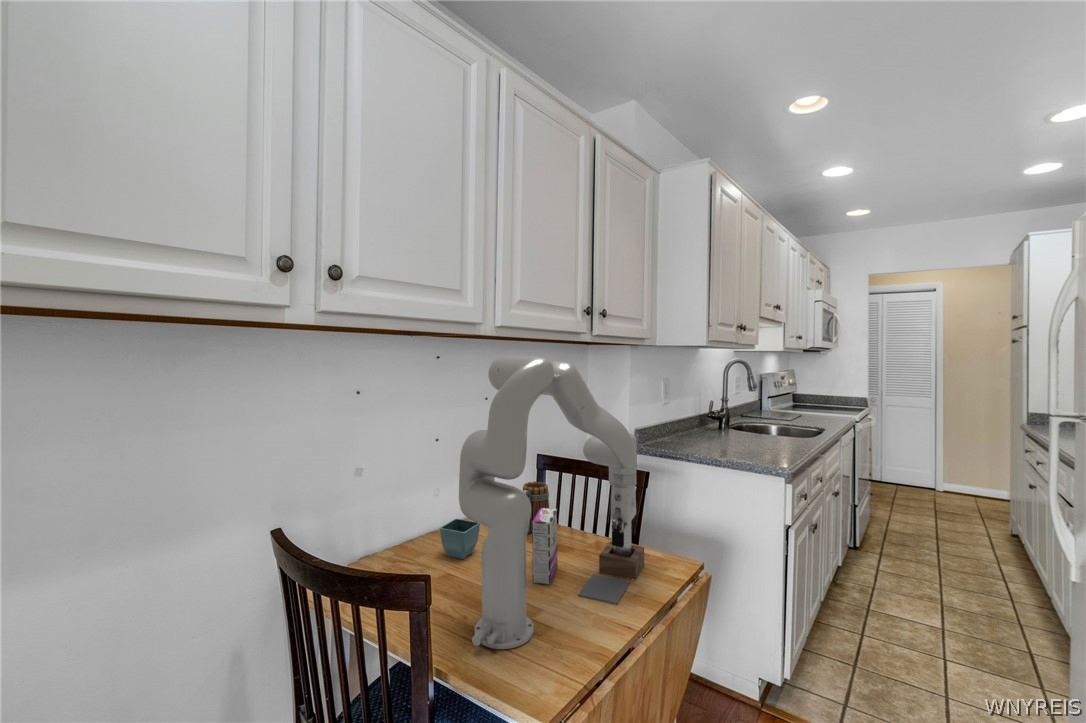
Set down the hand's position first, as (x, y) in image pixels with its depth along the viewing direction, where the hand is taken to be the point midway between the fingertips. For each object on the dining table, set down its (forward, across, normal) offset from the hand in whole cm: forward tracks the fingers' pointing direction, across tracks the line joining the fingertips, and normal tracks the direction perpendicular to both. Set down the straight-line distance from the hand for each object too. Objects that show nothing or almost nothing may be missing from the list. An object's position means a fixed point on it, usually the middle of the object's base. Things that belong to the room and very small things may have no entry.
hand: (622, 539), depth 134 cm
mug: (+8, +15, +35) cm, 39 cm away
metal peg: (+8, 0, 0) cm, 8 cm away
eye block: (+8, 0, 0) cm, 8 cm away
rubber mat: (+8, -13, +1) cm, 16 cm away
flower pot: (+8, -11, +46) cm, 48 cm away
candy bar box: (+8, -12, +18) cm, 23 cm away
